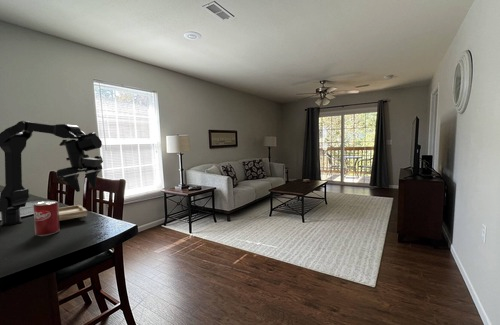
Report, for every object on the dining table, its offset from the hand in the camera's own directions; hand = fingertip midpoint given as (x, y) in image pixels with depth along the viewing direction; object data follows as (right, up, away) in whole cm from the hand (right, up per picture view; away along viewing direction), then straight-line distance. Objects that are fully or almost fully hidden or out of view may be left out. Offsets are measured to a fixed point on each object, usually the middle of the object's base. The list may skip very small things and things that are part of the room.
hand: (86, 189), depth 99 cm
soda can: (-9, -16, -8) cm, 21 cm away
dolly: (-14, -15, +6) cm, 21 cm away
